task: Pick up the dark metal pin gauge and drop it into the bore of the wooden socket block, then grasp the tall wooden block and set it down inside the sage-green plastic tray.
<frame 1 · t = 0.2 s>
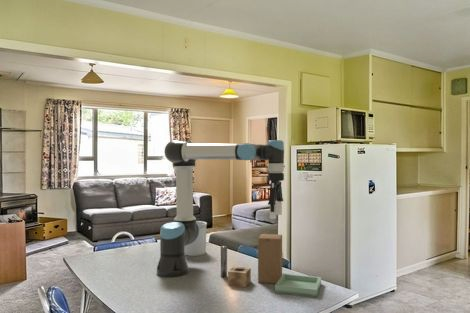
hand: (275, 216, 182), 28 cm above the table, fingers open, 13 cm apart
wooden socket block: (239, 283, 169), on the table
tray: (298, 288, 163), on the table
wooden block: (270, 280, 174), on the table
utensil holder: (194, 253, 223), on the table
pin gauge: (223, 276, 179), on the table
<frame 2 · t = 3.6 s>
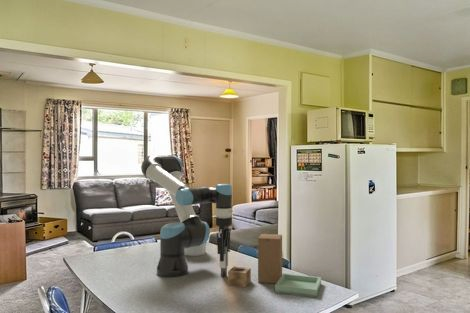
hand: (223, 266, 179), 5 cm above the table, fingers closed on pin gauge, 3 cm apart
pin gauge: (223, 276, 179), on the table, touching gripper
everything else where it was.
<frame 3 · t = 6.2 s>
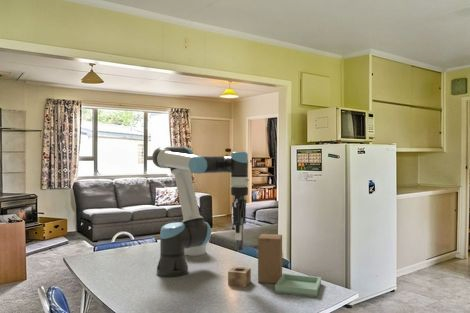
hand: (239, 239, 169), 20 cm above the table, fingers closed on pin gauge, 3 cm apart
pin gauge: (239, 249, 169), point 15 cm above the table, touching gripper
everything else where it was.
when the fingers open (8 cm above the table, at t = 9.0 s): pin gauge drops 3 cm, resting in wooden socket block.
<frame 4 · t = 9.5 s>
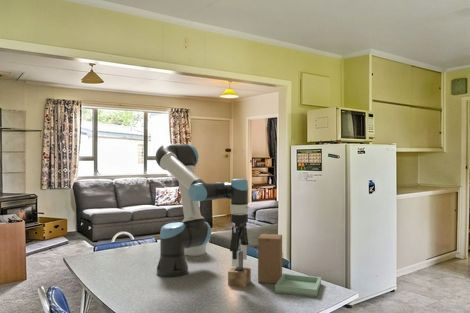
hand: (239, 262, 169), 9 cm above the table, fingers open, 11 cm apart
pin gauge: (239, 283, 169), resting in wooden socket block
everything else where it was.
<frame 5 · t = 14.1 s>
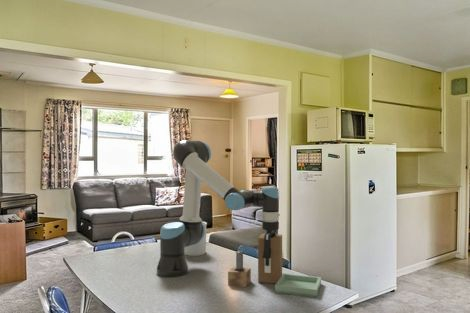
hand: (270, 269, 174), 5 cm above the table, fingers closed on wooden block, 10 cm apart
wooden block: (270, 280, 174), on the table, touching gripper
everything else where it was.
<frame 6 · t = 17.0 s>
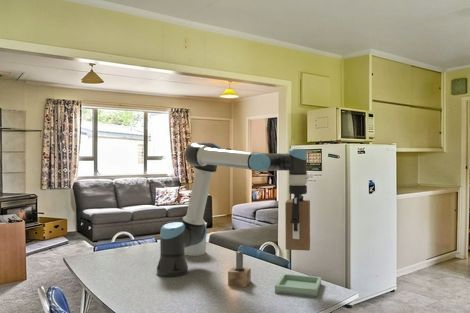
hand: (298, 236, 163), 22 cm above the table, fingers closed on wooden block, 10 cm apart
wooden block: (298, 248, 163), point 17 cm above the table, touching gripper
everything else where it was.
when the fingers open (8 cm above the table, at t = 20.3 s): wooden block drops 2 cm, resting on tray.
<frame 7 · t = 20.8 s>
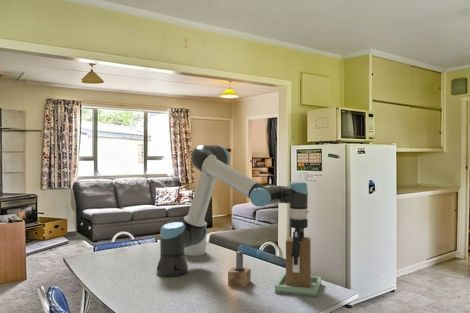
hand: (298, 267, 163), 9 cm above the table, fingers open, 13 cm apart
wooden block: (298, 286, 163), point 1 cm above the table, touching tray
everything else where it was.
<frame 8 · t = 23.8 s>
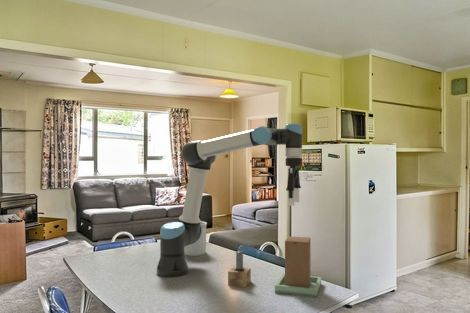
hand: (293, 203, 174), 35 cm above the table, fingers open, 13 cm apart
nothing on the table moved.
at the end: pin gauge 0.1 cm off-centre on the wooden socket block, point 0.0 cm above the wooden socket block's base; wooden block inside the target area on the tray (0.4 cm from its centre), point 0.8 cm above the tray's base; wooden block tilted 0° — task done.
